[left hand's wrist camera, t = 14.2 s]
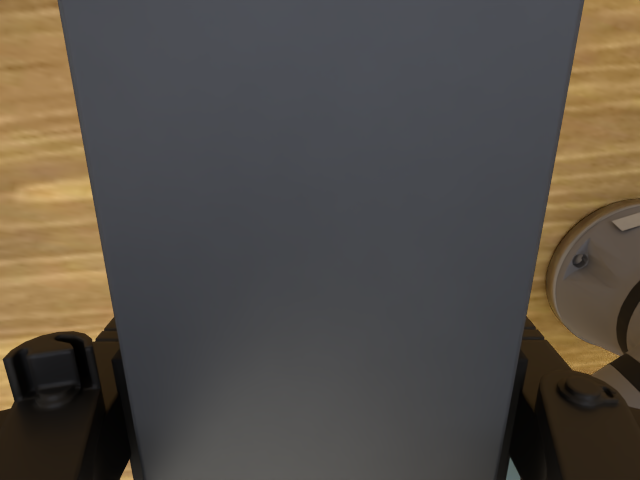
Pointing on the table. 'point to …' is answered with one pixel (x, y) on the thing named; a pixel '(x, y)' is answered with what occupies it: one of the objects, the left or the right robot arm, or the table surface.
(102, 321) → the table surface
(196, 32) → the bar
